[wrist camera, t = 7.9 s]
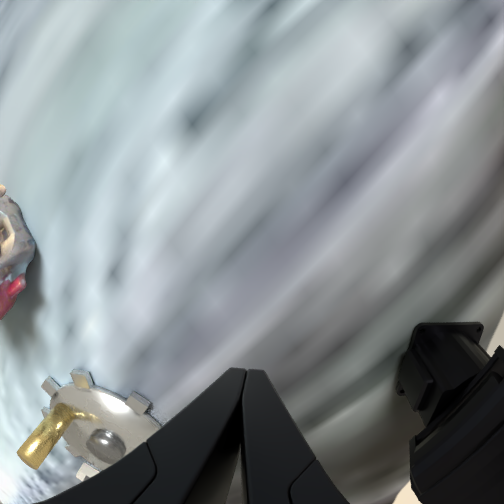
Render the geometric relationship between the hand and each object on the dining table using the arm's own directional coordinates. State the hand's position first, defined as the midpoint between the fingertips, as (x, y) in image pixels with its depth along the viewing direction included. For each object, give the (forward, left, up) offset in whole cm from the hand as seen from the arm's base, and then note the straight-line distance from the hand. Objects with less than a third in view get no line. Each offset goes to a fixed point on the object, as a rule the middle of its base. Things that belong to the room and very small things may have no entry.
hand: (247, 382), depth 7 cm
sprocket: (+15, +21, -13) cm, 29 cm away
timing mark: (+21, +32, -13) cm, 40 cm away
